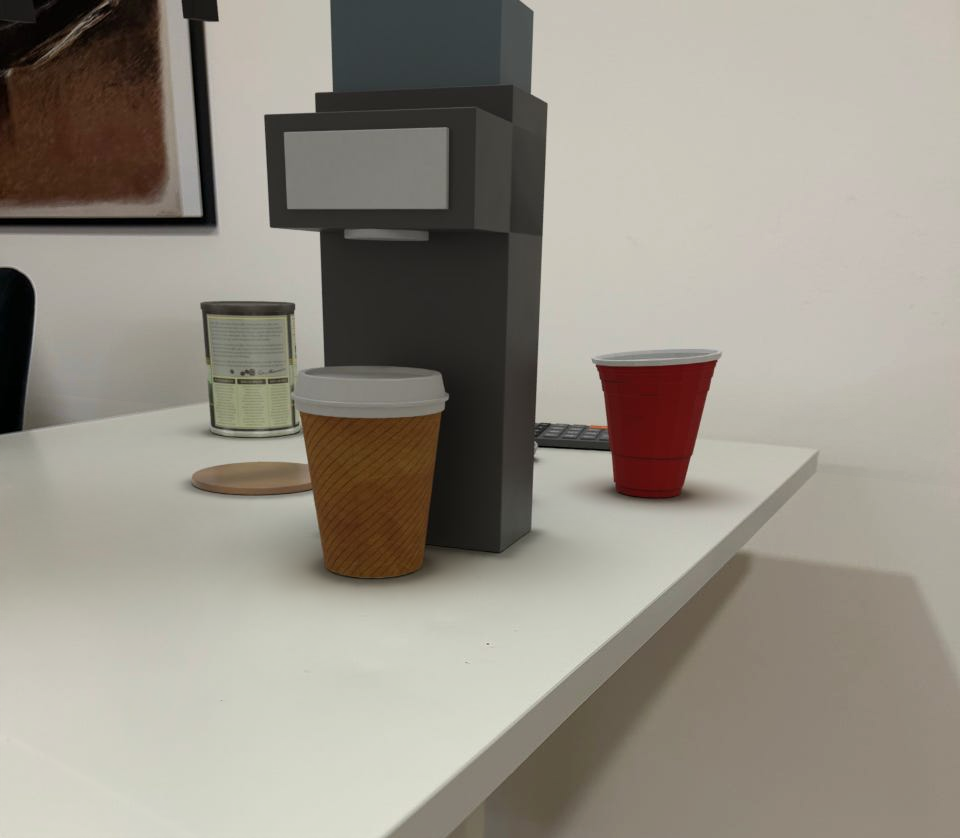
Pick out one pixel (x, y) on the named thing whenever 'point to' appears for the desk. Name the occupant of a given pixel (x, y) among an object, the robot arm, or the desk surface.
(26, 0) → the robot arm
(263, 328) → the coffee can
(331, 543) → the disposable coffee cup
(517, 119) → the coffee maker
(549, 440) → the calculator
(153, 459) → the desk surface
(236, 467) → the coaster
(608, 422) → the plastic cup
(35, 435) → the desk surface
